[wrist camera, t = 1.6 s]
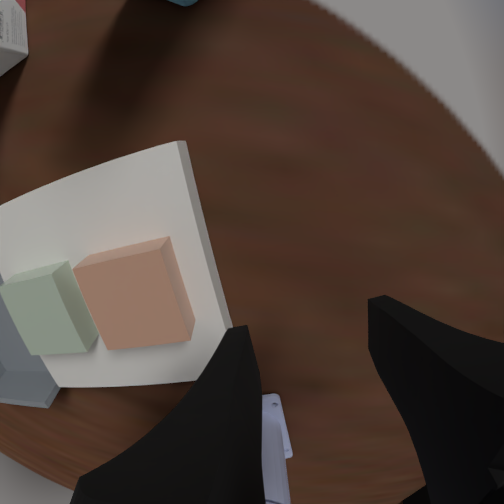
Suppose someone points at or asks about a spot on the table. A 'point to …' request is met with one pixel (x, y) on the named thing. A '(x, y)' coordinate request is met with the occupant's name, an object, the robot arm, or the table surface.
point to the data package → (184, 2)
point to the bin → (22, 368)
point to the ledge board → (115, 236)
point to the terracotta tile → (136, 295)
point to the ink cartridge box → (12, 33)
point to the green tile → (49, 310)
